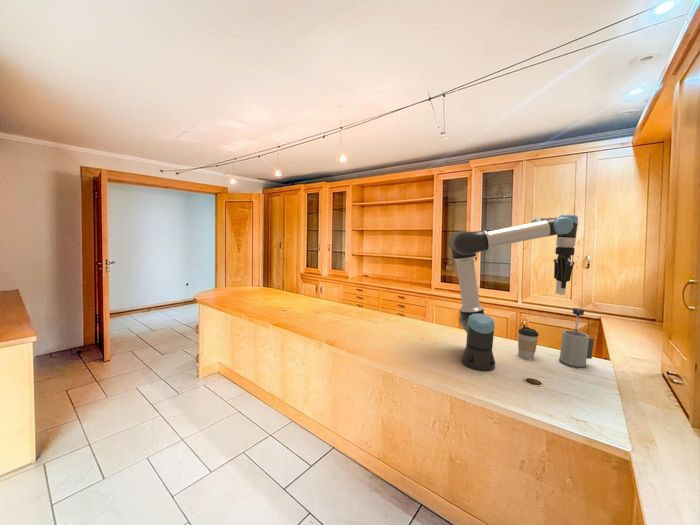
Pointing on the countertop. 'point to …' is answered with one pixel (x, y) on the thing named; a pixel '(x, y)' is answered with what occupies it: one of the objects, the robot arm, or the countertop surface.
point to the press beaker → (575, 349)
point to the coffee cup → (527, 342)
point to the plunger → (577, 317)
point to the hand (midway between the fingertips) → (560, 294)
